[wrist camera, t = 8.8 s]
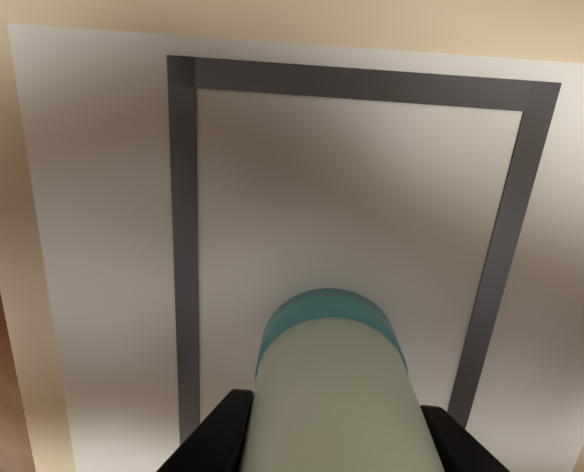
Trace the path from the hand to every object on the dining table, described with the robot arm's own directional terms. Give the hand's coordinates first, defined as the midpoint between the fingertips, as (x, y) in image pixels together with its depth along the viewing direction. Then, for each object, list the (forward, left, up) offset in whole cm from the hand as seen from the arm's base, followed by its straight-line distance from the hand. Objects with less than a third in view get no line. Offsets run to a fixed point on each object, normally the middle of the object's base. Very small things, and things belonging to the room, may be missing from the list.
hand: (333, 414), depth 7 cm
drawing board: (-4, 0, -4) cm, 5 cm away
